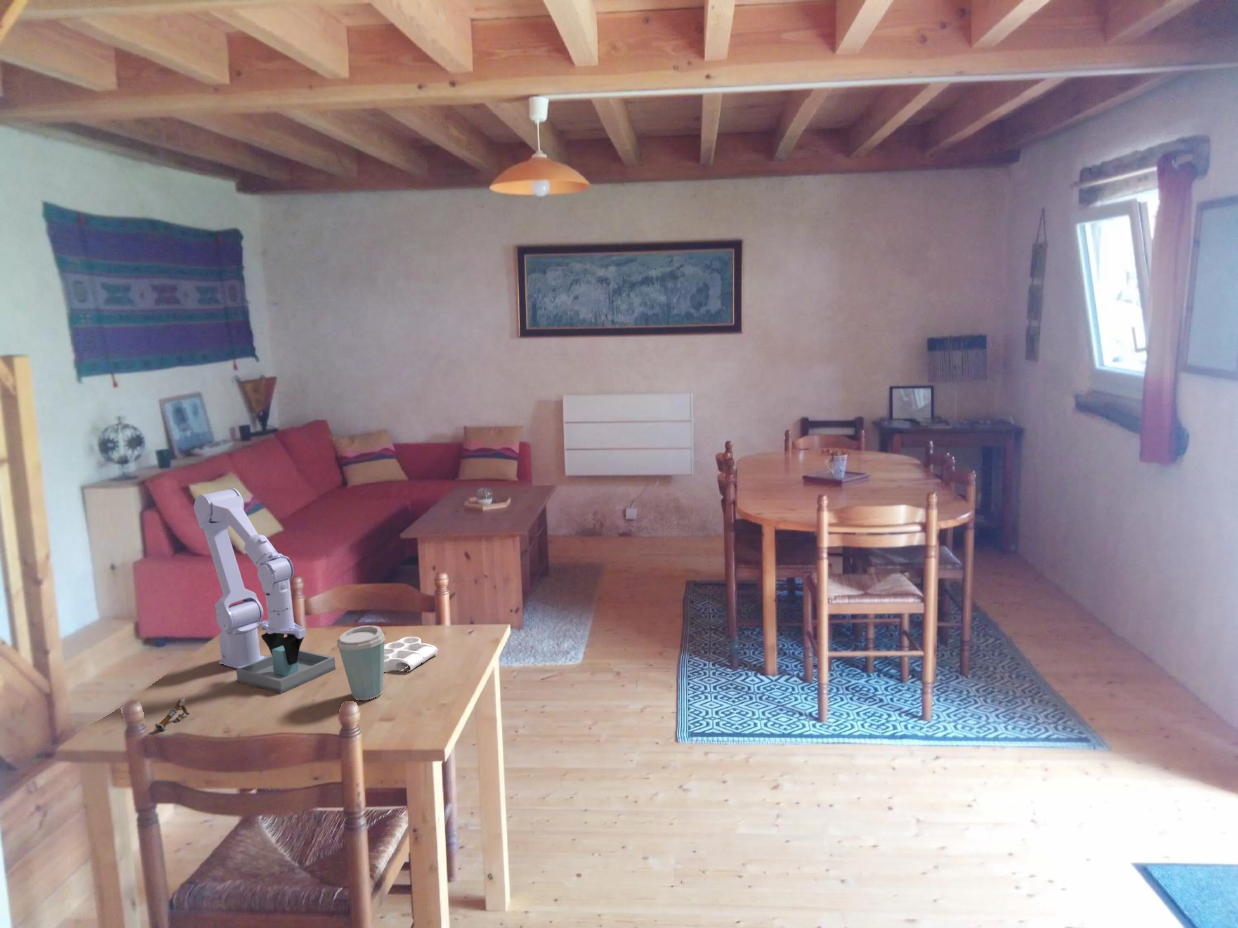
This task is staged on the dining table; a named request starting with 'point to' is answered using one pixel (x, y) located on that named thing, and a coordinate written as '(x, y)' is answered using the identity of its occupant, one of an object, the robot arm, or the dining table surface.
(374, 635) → the disposable coffee cup
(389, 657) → the white muffin tin
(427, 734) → the dining table surface
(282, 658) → the block
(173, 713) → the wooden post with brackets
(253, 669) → the tray
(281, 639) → the robot arm
